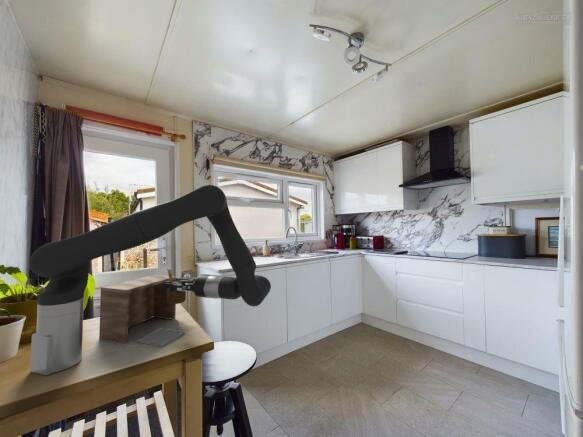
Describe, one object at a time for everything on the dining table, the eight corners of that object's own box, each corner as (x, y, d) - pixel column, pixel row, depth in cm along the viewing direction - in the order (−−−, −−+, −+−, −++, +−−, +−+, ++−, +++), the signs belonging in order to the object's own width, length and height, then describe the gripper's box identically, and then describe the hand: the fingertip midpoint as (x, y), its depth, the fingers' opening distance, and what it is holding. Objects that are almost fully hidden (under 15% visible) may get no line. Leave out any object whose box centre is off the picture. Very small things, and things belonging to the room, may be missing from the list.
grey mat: (162, 346, 76) (162, 344, 76) (137, 342, 79) (137, 340, 79) (185, 333, 86) (185, 331, 86) (161, 329, 89) (162, 327, 89)
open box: (124, 343, 78) (126, 290, 78) (99, 338, 81) (100, 287, 82) (175, 318, 99) (176, 276, 100) (153, 315, 102) (154, 274, 103)
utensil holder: (189, 300, 88) (189, 266, 88) (174, 305, 82) (174, 269, 82) (177, 298, 90) (178, 265, 90) (162, 303, 84) (162, 268, 85)
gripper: (223, 271, 89) (184, 268, 94) (198, 279, 75) (154, 275, 80) (223, 292, 89) (184, 288, 94) (197, 304, 75) (153, 298, 80)
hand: (170, 282), depth 87 cm, fingers closed on utensil holder, 5 cm apart
